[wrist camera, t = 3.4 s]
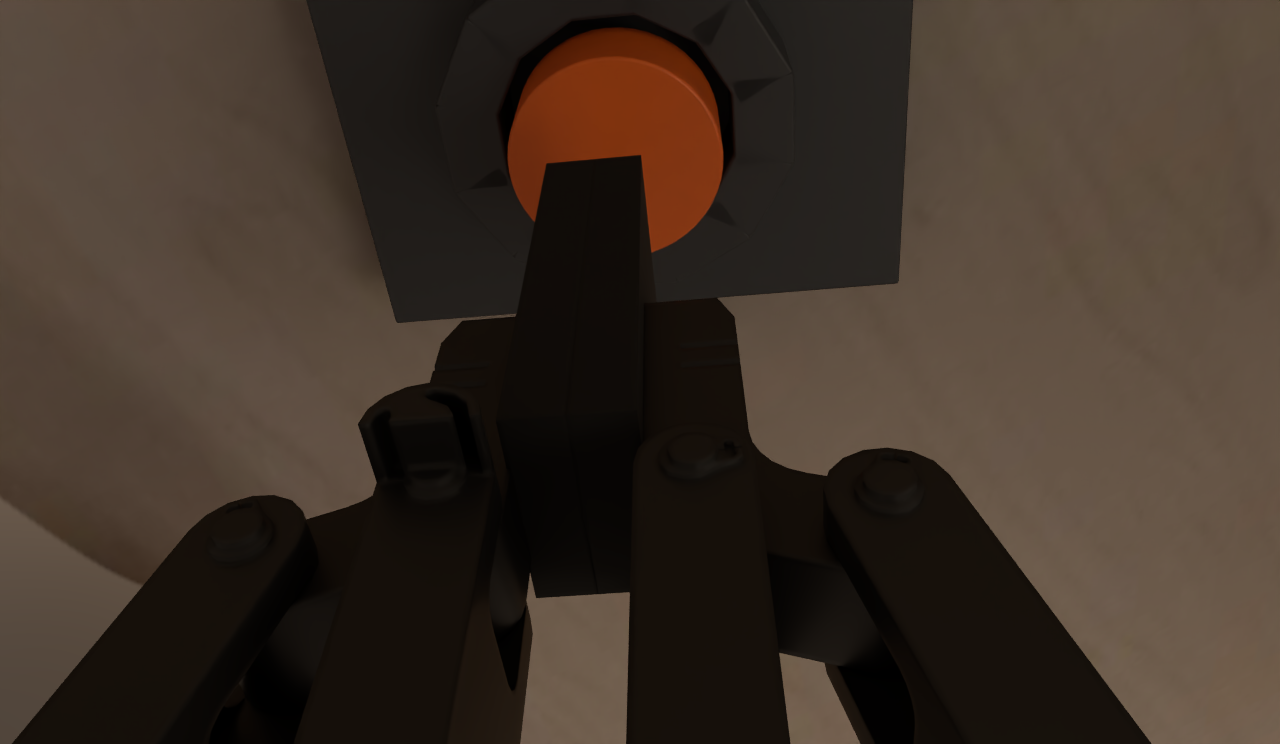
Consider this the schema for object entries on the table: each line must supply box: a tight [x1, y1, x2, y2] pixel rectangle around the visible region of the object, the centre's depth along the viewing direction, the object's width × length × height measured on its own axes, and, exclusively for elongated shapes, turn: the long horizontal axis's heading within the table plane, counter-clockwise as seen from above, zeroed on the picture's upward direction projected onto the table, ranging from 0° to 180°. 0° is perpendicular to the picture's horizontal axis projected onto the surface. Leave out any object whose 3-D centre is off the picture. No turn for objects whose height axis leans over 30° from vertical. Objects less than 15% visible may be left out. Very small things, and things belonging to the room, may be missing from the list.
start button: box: [507, 27, 723, 253], centre depth 20 cm, size 4×4×2 cm
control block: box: [306, 0, 913, 323], centre depth 22 cm, size 12×10×4 cm
